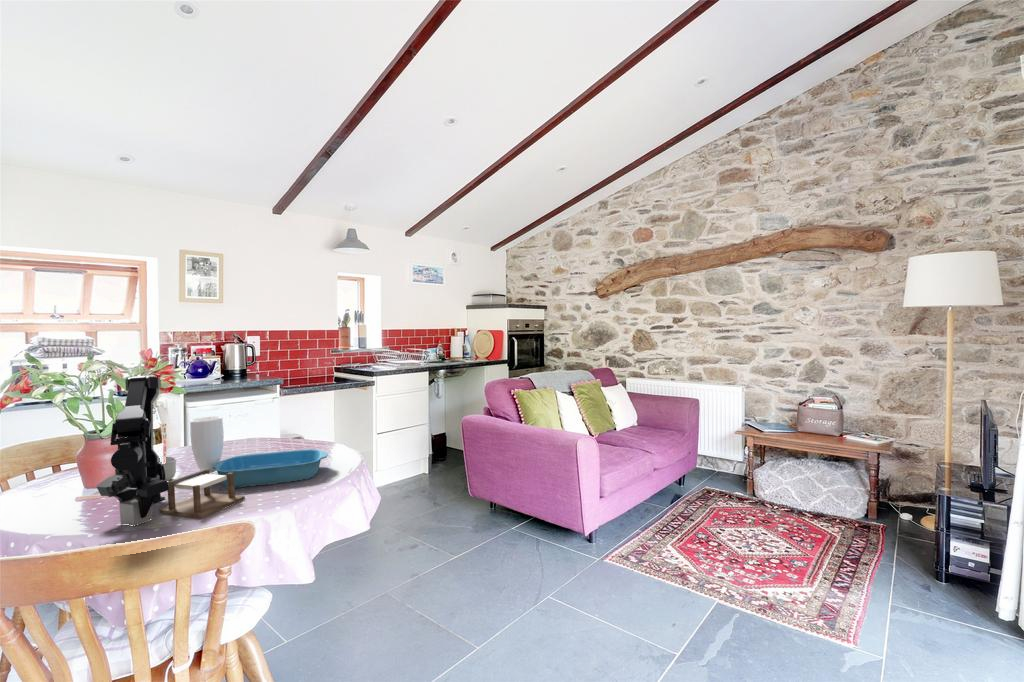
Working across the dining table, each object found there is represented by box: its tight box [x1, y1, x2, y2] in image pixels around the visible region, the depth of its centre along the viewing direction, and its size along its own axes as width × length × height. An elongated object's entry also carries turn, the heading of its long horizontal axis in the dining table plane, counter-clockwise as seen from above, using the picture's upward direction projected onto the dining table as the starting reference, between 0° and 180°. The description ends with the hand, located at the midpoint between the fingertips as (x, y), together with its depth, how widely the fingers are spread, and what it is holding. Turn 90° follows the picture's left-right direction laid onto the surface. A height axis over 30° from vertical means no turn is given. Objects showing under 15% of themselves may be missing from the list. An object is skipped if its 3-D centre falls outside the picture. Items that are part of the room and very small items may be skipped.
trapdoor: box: [175, 473, 227, 491], centre depth 149 cm, size 8×10×1 cm
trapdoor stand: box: [158, 469, 246, 519], centre depth 149 cm, size 16×15×9 cm
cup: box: [189, 415, 225, 474], centre depth 175 cm, size 10×10×22 cm
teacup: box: [157, 456, 177, 481], centre depth 172 cm, size 14×11×8 cm
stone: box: [118, 498, 153, 527], centre depth 138 cm, size 5×5×6 cm
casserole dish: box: [212, 448, 329, 489], centre depth 176 cm, size 37×22×7 cm, turn 109°
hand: (136, 516), depth 138 cm, fingers closed on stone, 5 cm apart
